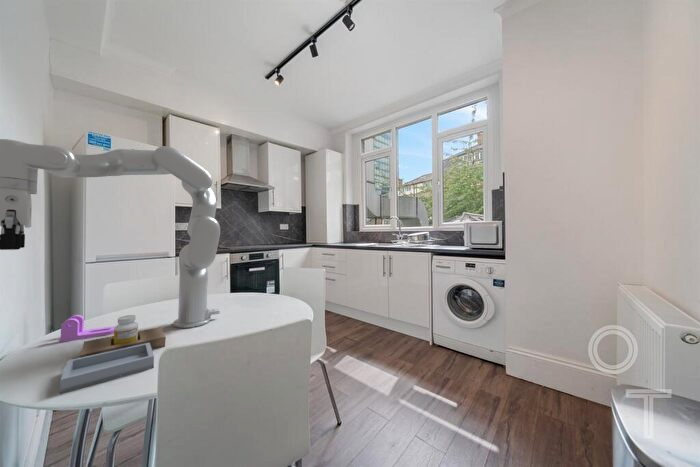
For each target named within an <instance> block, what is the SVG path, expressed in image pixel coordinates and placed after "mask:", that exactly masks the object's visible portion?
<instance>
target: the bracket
mask: <svg viewBox="0 0 700 467" xmlns="http://www.w3.org/2000/svg"><path fill="white" fill-rule="evenodd" d="M84 325H85V317H84V316H83V315H81V314H74V315H72V316H70V317H69V318H68V319H66V320H65V321H63V322H62V323H61V325H60V343H64V342H71V341H77V340H83V339H91V338H97V337H98V338H99V337H105V336H106V337H107V336H112V335H114V328H115V327H116V325H115V326H107V327H99V328H90V329H85V326H84Z"/></svg>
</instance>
